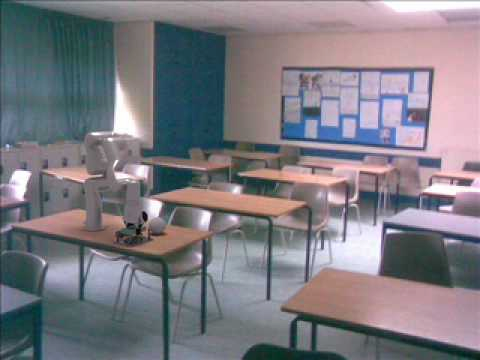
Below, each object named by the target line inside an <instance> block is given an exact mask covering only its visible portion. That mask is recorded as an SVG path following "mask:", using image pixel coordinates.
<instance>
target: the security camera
mask: <svg viewBox="0 0 480 360" xmlns="http://www.w3.org/2000/svg"><path fill="white" fill-rule="evenodd" d="M142 219H143V220H144V221H145V223H147V222H148V221H149V216H148V213H147V212H146V211H145V210H144V211H143V210H142ZM123 223H124V222H123ZM145 223H144V224H145ZM124 225H125V223H124ZM130 225H131V226H134V224H132V223H131V224H130ZM138 225H139V224H138Z"/></svg>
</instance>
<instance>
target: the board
mask: <svg viewBox="0 0 480 360" xmlns="http://www.w3.org/2000/svg"><path fill="white" fill-rule="evenodd" d="M136 228H137V226H136V224H134V226H129V227H126V226H125V227H123V228H121V229H120V231H121V233H122V234H127V235H130V233H132V236H134V235H135V234H136ZM144 232H146V226H145V225H143V226H142V228H141V233H144Z"/></svg>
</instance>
